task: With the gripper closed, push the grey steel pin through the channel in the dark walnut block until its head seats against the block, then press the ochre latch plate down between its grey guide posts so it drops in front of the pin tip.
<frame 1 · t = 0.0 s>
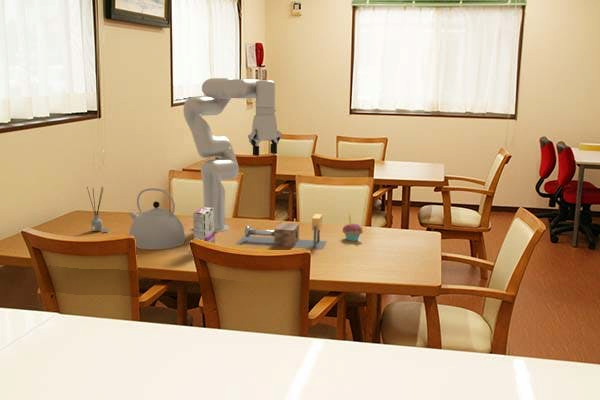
hand: (264, 154, 263), 37 cm above the table, tool pointing down, fingers open, 9 cm apart
reed diffuser: (99, 231, 286), on the table
cupcake: (352, 240, 279), on the table
candy bar box: (204, 250, 259), on the table
pin: (264, 232, 272), point 4 cm above the table, slide at 0.0 cm
kettle: (154, 242, 271), on the table
latch plate: (317, 222, 267), point 10 cm above the table, slide at 0.0 cm
base mat: (281, 243, 271), on the table
hitch block: (286, 242, 271), resting on base mat
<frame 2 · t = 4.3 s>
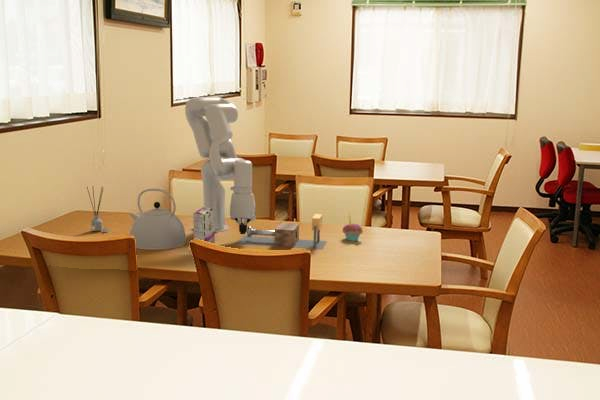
hand: (243, 233, 273), 3 cm above the table, tool pointing down, fingers closed
pin: (266, 232, 271), point 4 cm above the table, slide at 0.9 cm, touching gripper
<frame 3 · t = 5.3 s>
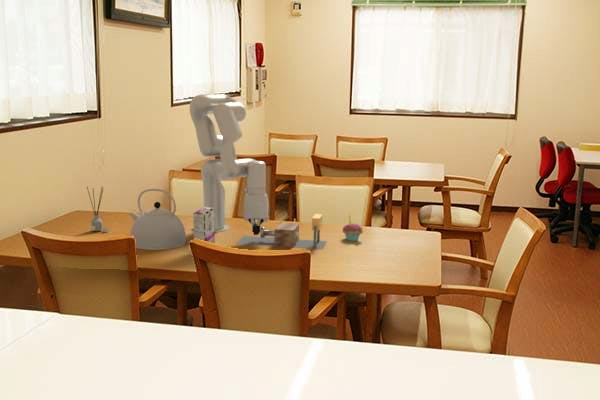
hand: (256, 234, 272), 3 cm above the table, tool pointing down, fingers closed
pin: (279, 233, 270), point 4 cm above the table, slide at 6.6 cm, touching gripper
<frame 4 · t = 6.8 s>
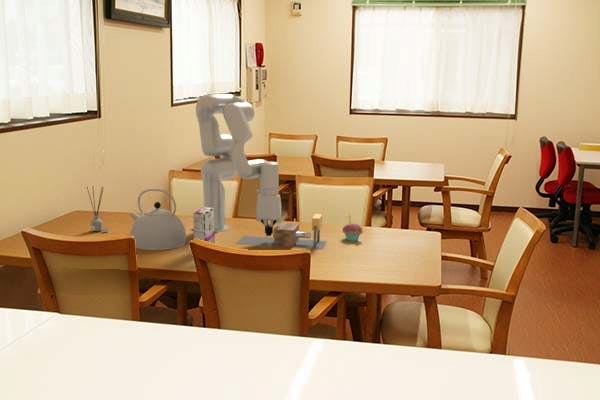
hand: (268, 235, 271), 3 cm above the table, tool pointing down, fingers closed
pin: (292, 234, 270), point 4 cm above the table, slide at 12.0 cm
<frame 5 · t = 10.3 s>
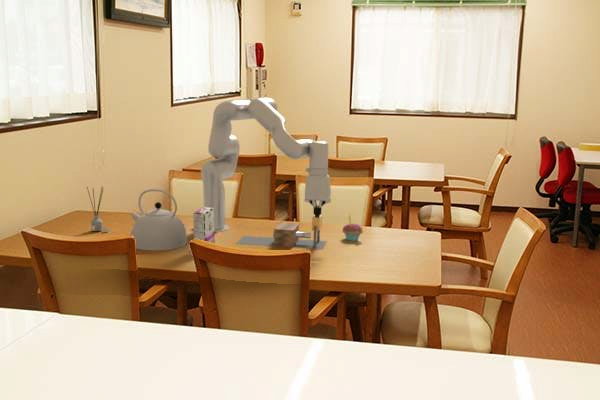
hand: (317, 216, 266), 13 cm above the table, tool pointing down, fingers closed
latch plate: (317, 222, 267), point 10 cm above the table, slide at 0.1 cm, touching gripper
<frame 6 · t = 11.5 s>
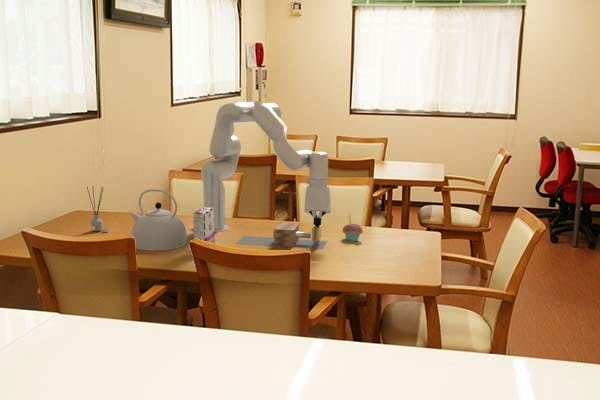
hand: (317, 226, 267), 8 cm above the table, tool pointing down, fingers closed
latch plate: (316, 232, 268), point 6 cm above the table, slide at 4.4 cm, touching gripper
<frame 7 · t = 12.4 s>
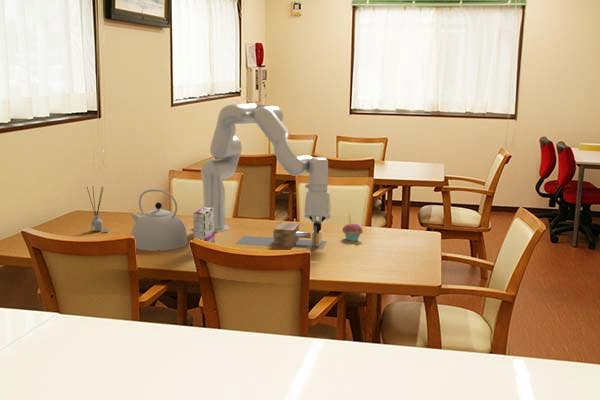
hand: (317, 232, 268), 6 cm above the table, tool pointing down, fingers closed
latch plate: (316, 237, 268), point 3 cm above the table, slide at 6.6 cm, touching gripper
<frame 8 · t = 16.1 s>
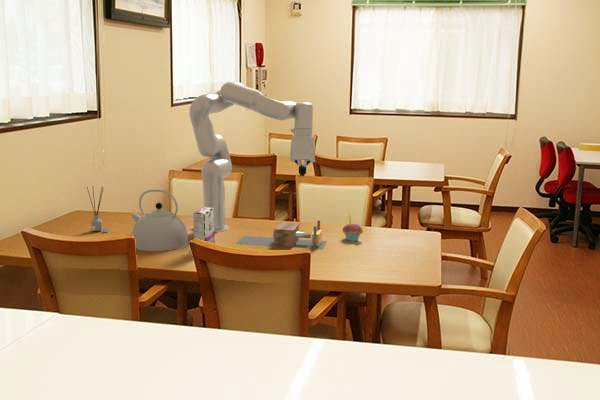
hand: (302, 175, 276), 27 cm above the table, tool pointing down, fingers closed
latch plate: (316, 237, 268), point 3 cm above the table, slide at 6.7 cm
at the end: pin slide at 12.0 cm; latch plate slide at 6.7 cm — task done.
